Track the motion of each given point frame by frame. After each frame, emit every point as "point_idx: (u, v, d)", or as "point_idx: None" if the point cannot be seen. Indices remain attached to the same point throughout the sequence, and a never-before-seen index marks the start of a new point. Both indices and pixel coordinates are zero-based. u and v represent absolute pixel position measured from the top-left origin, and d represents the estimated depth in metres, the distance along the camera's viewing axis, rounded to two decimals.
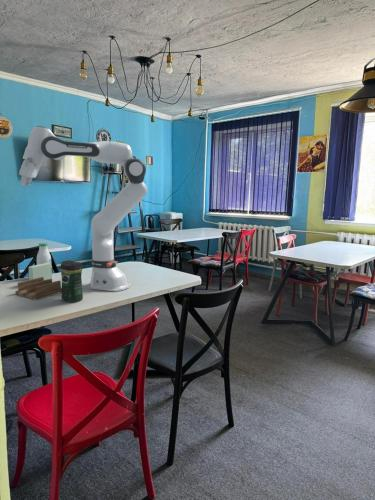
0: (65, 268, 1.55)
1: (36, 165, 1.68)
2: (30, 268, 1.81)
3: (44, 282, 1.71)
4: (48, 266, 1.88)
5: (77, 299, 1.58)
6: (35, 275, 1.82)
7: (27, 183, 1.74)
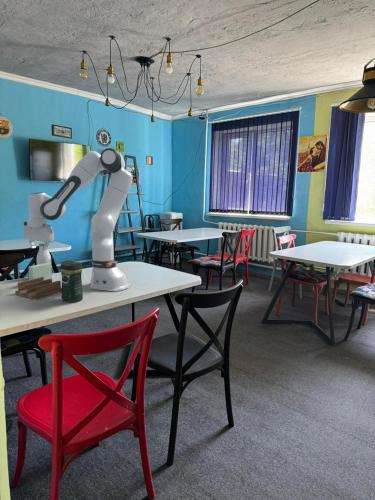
0: (65, 268, 1.55)
1: None
2: (30, 268, 1.81)
3: (44, 282, 1.71)
4: (48, 266, 1.88)
5: (77, 299, 1.58)
6: (35, 275, 1.82)
7: (34, 246, 1.86)
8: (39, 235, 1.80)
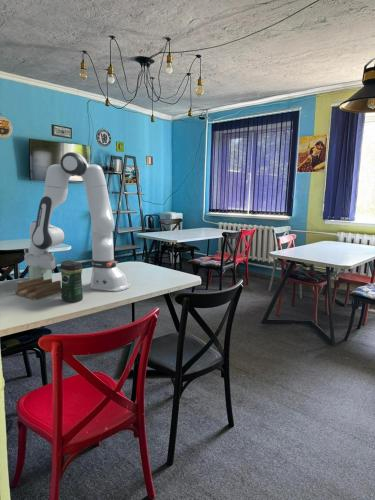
0: (65, 268, 1.55)
1: None
2: (30, 268, 1.81)
3: (44, 282, 1.71)
4: None
5: (77, 299, 1.58)
6: (35, 275, 1.82)
7: None
8: (40, 262, 1.82)
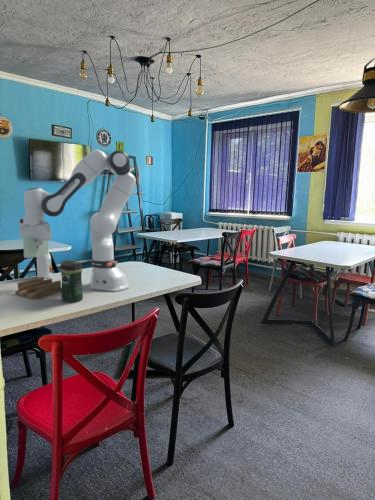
0: (65, 268, 1.55)
1: None
2: (24, 239, 1.69)
3: (44, 282, 1.71)
4: None
5: (77, 299, 1.58)
6: (30, 247, 1.70)
7: None
8: (36, 233, 1.70)
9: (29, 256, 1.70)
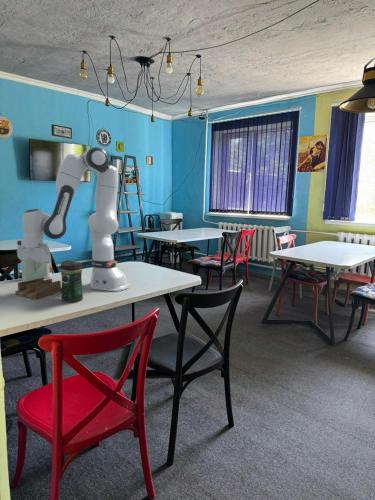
0: (65, 268, 1.55)
1: None
2: (23, 262, 1.64)
3: (44, 282, 1.71)
4: None
5: (77, 299, 1.58)
6: (28, 270, 1.65)
7: None
8: (34, 255, 1.66)
9: (27, 279, 1.65)
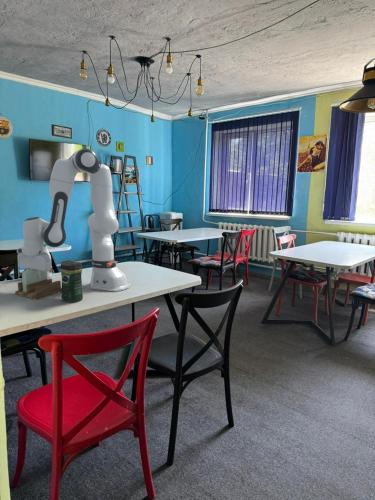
0: (65, 268, 1.55)
1: None
2: (23, 273, 1.65)
3: (44, 282, 1.71)
4: None
5: (77, 299, 1.58)
6: (29, 281, 1.66)
7: None
8: (35, 263, 1.66)
9: None
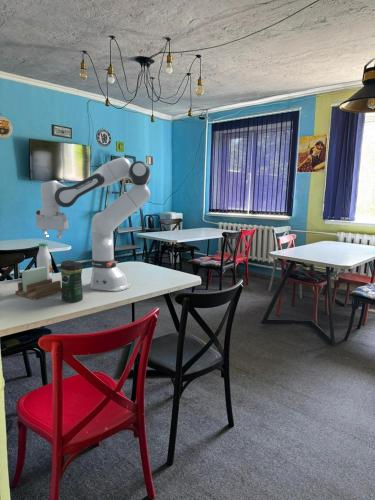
0: (65, 268, 1.55)
1: None
2: (23, 273, 1.65)
3: (44, 282, 1.71)
4: (43, 270, 1.73)
5: (77, 299, 1.58)
6: (29, 281, 1.66)
7: (47, 235, 1.84)
8: (53, 223, 1.78)
9: None
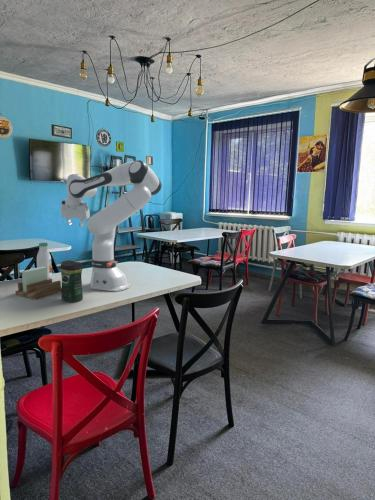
0: (65, 268, 1.55)
1: None
2: (23, 273, 1.65)
3: (44, 282, 1.71)
4: (43, 270, 1.73)
5: (77, 299, 1.58)
6: (29, 281, 1.66)
7: (70, 223, 2.06)
8: (76, 212, 2.00)
9: None
